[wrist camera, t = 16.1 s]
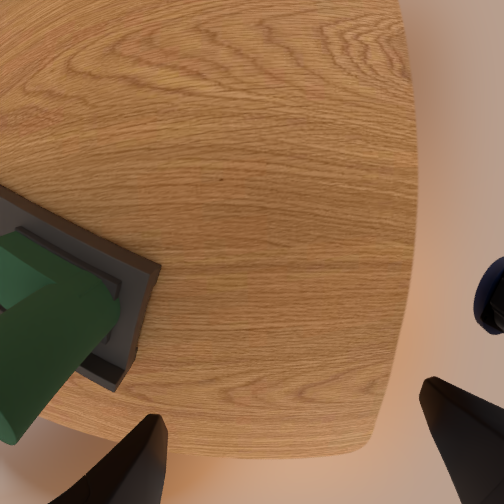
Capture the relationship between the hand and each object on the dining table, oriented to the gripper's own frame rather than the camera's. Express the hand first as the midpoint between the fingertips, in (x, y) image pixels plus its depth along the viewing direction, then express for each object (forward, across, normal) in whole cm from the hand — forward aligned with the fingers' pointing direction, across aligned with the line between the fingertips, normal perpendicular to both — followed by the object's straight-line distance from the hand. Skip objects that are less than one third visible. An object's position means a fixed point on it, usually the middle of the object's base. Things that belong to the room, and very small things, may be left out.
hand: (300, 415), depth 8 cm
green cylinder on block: (+12, +15, -1) cm, 19 cm away
